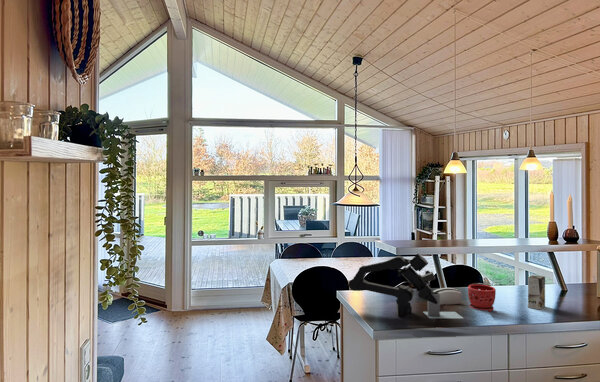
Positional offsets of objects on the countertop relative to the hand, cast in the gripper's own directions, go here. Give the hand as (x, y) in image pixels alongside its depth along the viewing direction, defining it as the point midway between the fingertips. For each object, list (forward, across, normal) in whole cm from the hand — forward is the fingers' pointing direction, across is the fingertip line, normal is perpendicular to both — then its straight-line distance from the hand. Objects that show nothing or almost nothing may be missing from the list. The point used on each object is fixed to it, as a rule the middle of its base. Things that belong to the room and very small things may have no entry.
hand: (436, 301), depth 202 cm
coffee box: (+43, +35, -32) cm, 64 cm away
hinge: (+11, +30, +1) cm, 32 cm away
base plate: (+8, +1, +4) cm, 9 cm away
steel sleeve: (+4, 0, +6) cm, 7 cm away
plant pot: (+22, +21, -11) cm, 33 cm away
